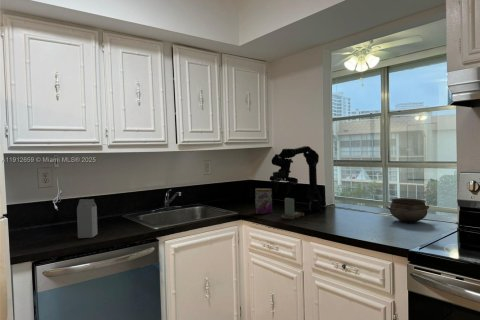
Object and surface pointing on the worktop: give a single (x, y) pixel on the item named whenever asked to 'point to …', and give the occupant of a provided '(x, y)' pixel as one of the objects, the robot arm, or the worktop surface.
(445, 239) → the worktop surface
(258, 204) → the candy bar box
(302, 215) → the rack
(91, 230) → the milk carton
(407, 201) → the cooking pot
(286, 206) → the panel
